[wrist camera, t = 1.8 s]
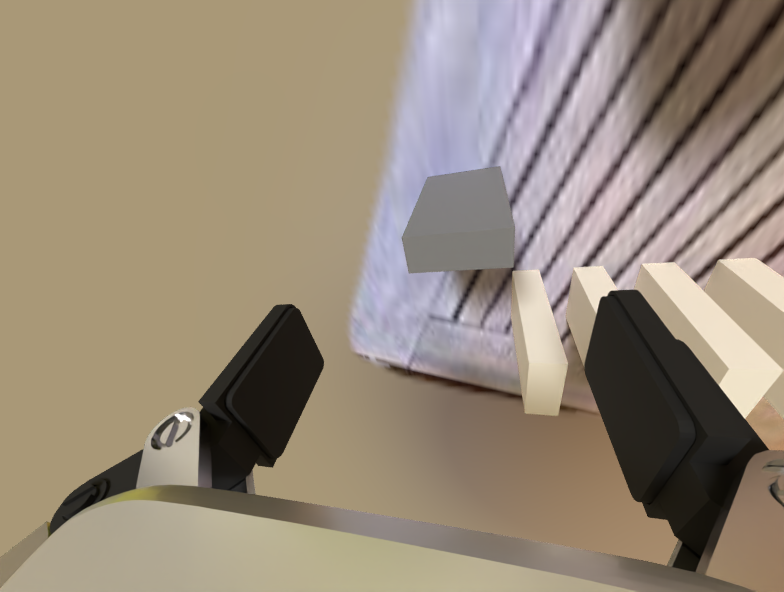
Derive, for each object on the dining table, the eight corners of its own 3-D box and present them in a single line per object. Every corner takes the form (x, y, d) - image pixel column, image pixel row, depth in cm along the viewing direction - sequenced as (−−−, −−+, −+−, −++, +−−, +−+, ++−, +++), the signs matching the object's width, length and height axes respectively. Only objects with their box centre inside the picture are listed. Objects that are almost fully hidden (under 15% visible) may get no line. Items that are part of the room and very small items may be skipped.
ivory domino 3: (674, 262, 22) (783, 370, 14) (654, 314, 25) (736, 429, 17) (641, 263, 22) (728, 368, 15) (625, 315, 25) (692, 426, 18)
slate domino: (427, 177, 22) (401, 237, 14) (500, 166, 21) (514, 227, 13) (431, 203, 23) (408, 273, 15) (500, 195, 22) (513, 267, 14)
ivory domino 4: (755, 258, 21) (924, 374, 13) (724, 314, 23) (848, 437, 16) (718, 259, 21) (858, 372, 13) (692, 314, 24) (796, 433, 16)
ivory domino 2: (602, 266, 23) (667, 366, 15) (591, 315, 26) (641, 422, 18) (573, 267, 24) (620, 365, 16) (565, 316, 27) (602, 419, 19)
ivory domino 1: (538, 269, 24) (568, 364, 17) (534, 316, 27) (558, 416, 20) (512, 270, 25) (529, 362, 17) (511, 316, 28) (524, 413, 20)
